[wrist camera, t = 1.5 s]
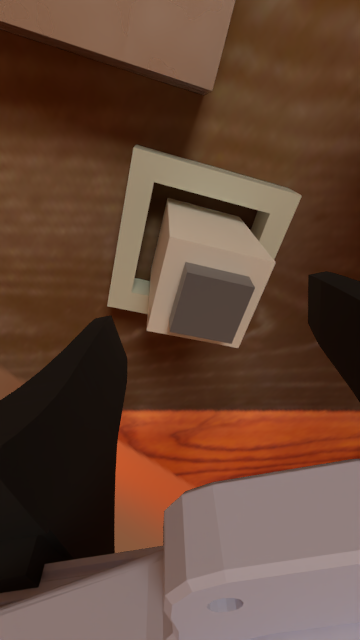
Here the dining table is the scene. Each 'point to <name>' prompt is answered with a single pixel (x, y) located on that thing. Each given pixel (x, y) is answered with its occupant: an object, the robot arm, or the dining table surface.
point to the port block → (132, 34)
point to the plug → (205, 275)
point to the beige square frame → (196, 178)
